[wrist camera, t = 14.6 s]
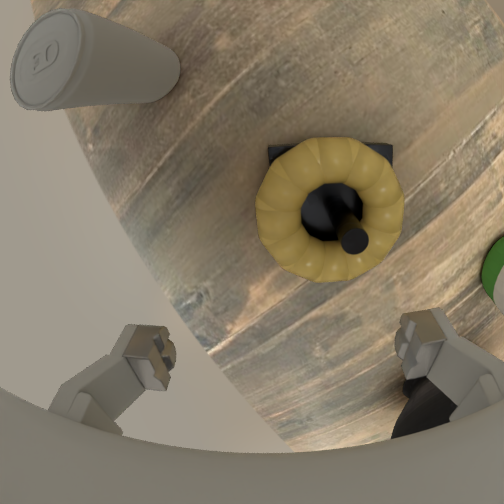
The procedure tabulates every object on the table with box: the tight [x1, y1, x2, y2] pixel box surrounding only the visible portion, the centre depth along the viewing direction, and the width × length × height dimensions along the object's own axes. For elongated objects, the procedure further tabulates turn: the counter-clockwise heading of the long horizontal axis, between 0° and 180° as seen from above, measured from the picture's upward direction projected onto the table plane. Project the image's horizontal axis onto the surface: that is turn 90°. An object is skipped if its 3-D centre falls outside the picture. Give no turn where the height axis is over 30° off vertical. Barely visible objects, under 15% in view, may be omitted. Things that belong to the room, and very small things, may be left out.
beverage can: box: [10, 8, 180, 111], centre depth 12 cm, size 5×5×12 cm
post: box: [268, 142, 393, 255], centre depth 18 cm, size 9×9×7 cm
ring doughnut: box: [255, 137, 404, 283], centre depth 18 cm, size 10×10×3 cm
